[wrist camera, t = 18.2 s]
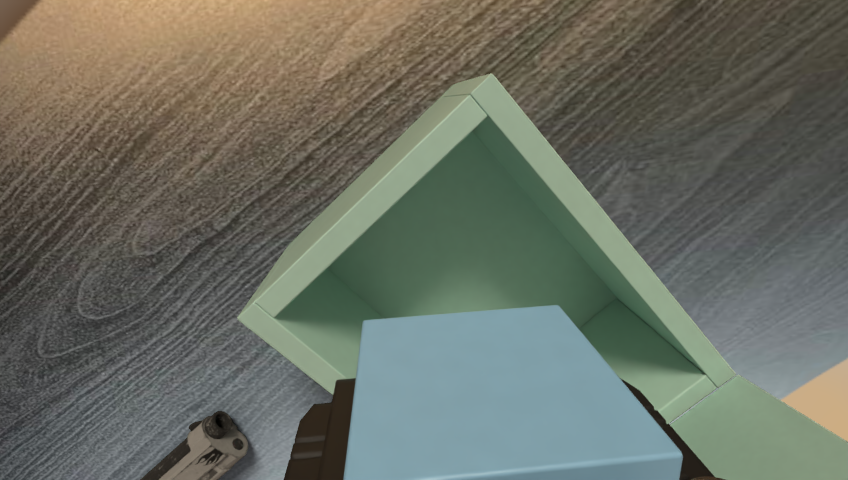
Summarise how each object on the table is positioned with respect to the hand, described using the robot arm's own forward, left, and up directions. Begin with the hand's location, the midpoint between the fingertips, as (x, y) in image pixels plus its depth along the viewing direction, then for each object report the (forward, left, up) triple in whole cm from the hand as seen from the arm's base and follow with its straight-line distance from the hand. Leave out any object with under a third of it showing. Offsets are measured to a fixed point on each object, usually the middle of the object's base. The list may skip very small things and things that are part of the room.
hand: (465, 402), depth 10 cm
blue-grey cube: (0, 0, 0) cm, 0 cm away
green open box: (+3, +3, -16) cm, 16 cm away
